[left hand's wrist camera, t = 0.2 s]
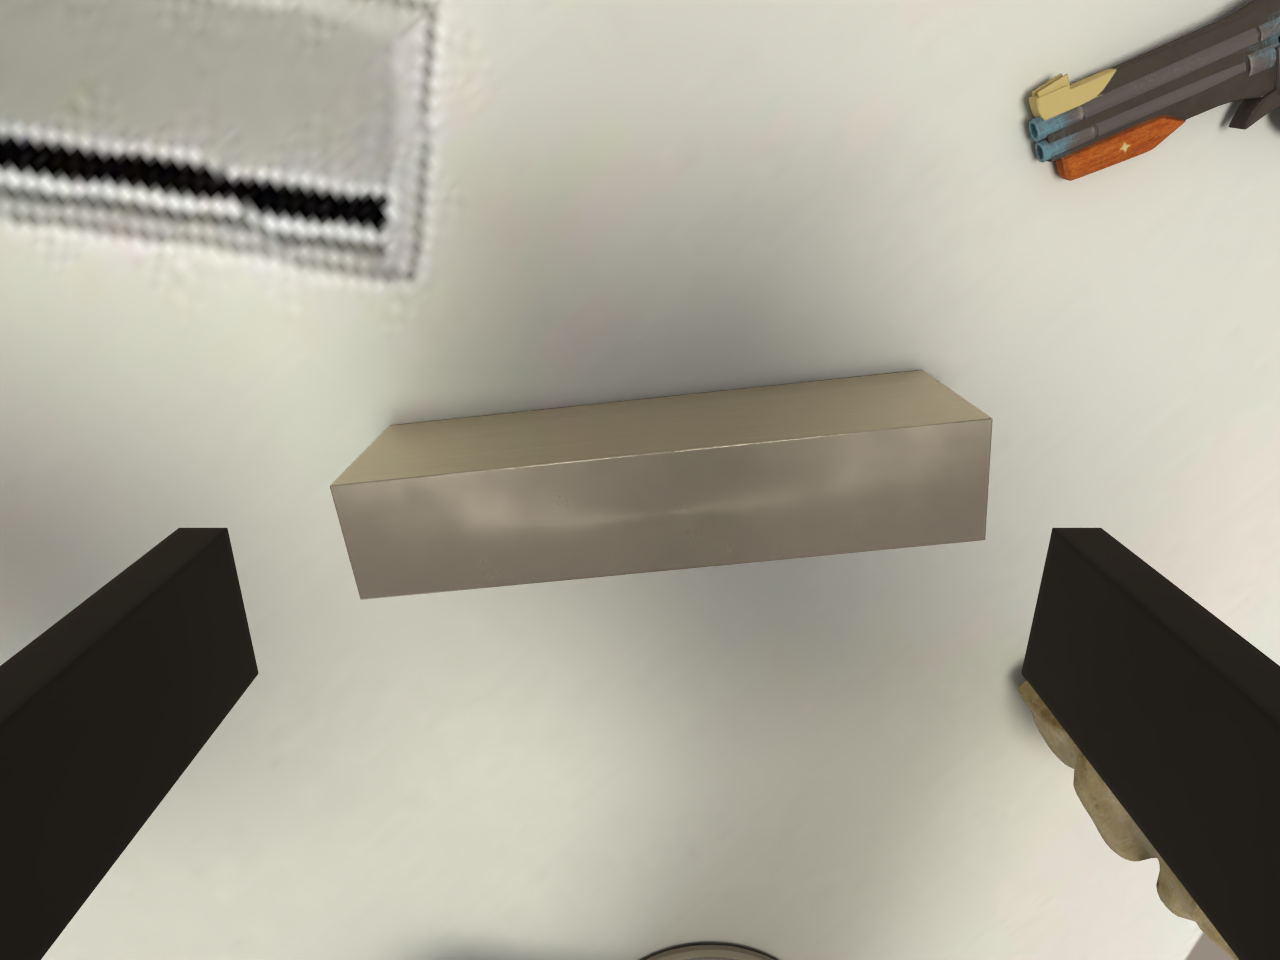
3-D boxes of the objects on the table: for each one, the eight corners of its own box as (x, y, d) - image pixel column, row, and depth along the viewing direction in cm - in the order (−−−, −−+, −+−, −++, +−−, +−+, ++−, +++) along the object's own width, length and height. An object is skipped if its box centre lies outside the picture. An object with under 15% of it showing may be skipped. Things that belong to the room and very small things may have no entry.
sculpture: (1051, 757, 48) (1222, 1000, 34) (988, 682, 46) (1142, 907, 32) (1138, 705, 46) (1354, 936, 32) (1077, 626, 44) (1279, 835, 30)
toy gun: (1548, 128, 33) (1576, -148, 28) (1078, 309, 37) (1038, 92, 32) (1487, 122, 35) (1505, -133, 31) (1052, 293, 39) (1012, 89, 35)
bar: (922, 369, 39) (992, 418, 31) (920, 470, 41) (985, 540, 33) (389, 425, 40) (329, 485, 32) (411, 521, 42) (360, 600, 34)
